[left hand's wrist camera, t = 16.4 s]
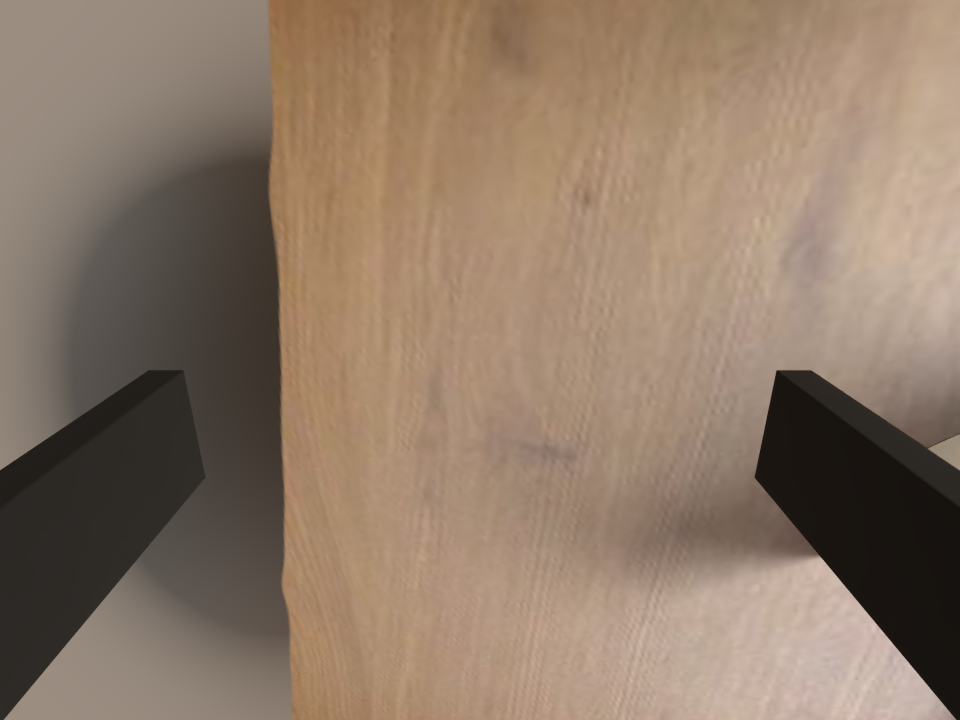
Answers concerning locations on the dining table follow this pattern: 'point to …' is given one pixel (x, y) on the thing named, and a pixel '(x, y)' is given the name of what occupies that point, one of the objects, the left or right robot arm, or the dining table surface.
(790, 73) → the dining table surface
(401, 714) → the dining table surface
